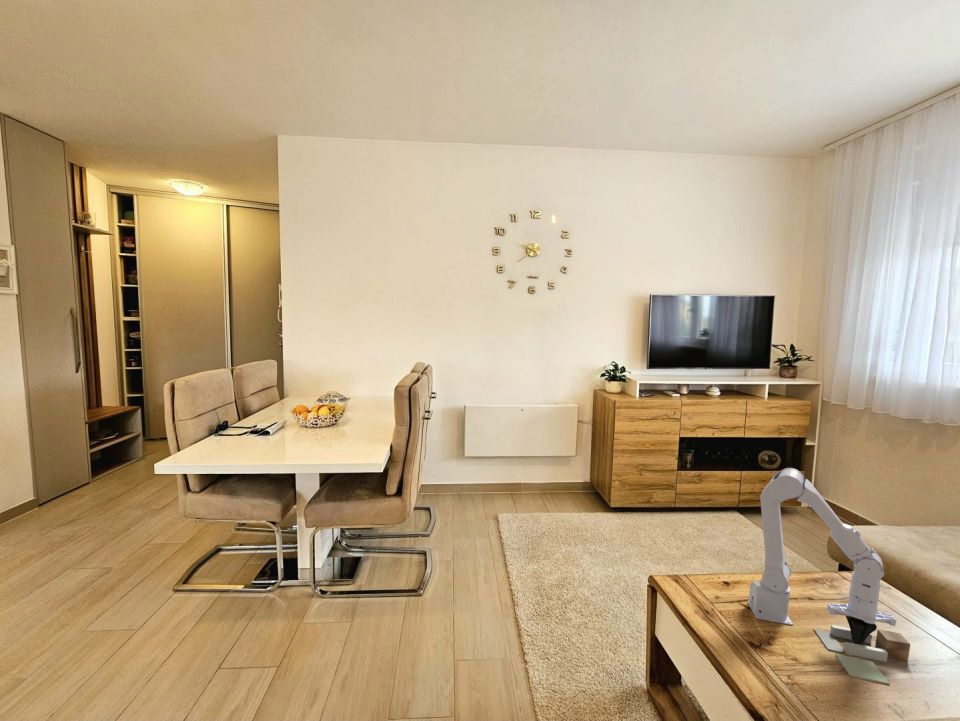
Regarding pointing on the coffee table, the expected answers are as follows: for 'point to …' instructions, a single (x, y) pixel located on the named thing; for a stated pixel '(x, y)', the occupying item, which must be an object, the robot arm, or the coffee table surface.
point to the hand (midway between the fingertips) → (856, 643)
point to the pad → (862, 669)
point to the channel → (850, 644)
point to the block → (893, 644)
